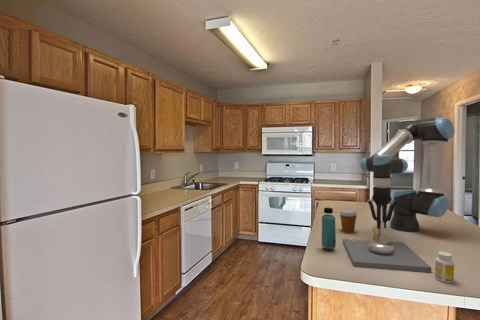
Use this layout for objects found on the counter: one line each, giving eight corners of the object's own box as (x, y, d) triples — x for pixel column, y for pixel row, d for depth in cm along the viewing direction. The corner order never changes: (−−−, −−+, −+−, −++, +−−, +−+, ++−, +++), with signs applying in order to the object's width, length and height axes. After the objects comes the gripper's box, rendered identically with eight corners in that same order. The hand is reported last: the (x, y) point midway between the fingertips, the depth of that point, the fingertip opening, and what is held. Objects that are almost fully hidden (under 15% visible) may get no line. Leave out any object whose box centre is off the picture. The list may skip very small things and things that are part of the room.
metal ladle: (396, 256, 111) (396, 239, 111) (369, 253, 114) (370, 237, 114) (387, 241, 129) (387, 227, 129) (364, 239, 132) (364, 225, 132)
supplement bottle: (434, 279, 95) (434, 253, 95) (436, 274, 99) (436, 249, 99) (453, 284, 92) (453, 257, 91) (454, 279, 96) (454, 253, 95)
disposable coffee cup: (358, 234, 147) (358, 213, 146) (340, 233, 149) (340, 212, 148) (354, 229, 156) (355, 209, 156) (338, 228, 158) (338, 208, 158)
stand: (403, 246, 128) (403, 241, 128) (431, 272, 101) (431, 266, 101) (342, 242, 134) (342, 238, 134) (353, 266, 107) (353, 260, 107)
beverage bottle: (334, 253, 121) (334, 210, 120) (319, 250, 124) (319, 208, 124) (337, 248, 126) (337, 207, 126) (323, 246, 130) (323, 206, 129)
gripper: (393, 185, 130) (393, 232, 130) (365, 185, 132) (365, 231, 133) (399, 187, 122) (399, 237, 123) (369, 187, 125) (369, 236, 126)
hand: (381, 234), depth 128 cm, fingers closed
